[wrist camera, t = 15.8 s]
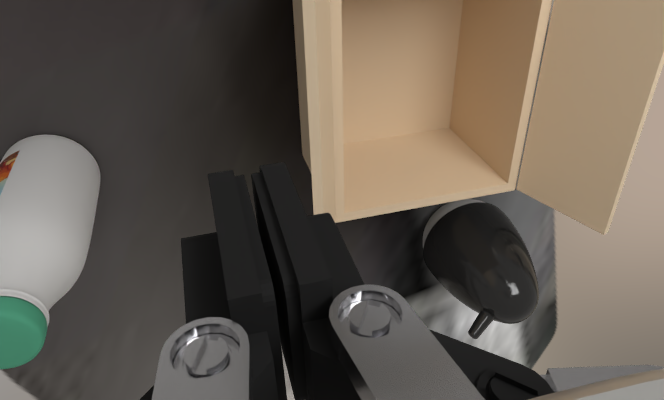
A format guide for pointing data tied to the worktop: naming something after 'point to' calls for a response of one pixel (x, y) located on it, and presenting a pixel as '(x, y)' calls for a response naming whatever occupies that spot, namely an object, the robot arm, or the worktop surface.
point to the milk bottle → (41, 236)
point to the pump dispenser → (481, 262)
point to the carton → (426, 98)
